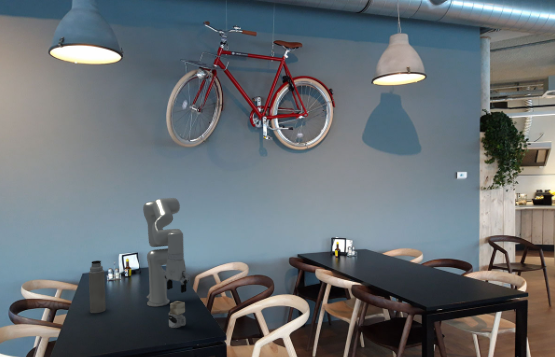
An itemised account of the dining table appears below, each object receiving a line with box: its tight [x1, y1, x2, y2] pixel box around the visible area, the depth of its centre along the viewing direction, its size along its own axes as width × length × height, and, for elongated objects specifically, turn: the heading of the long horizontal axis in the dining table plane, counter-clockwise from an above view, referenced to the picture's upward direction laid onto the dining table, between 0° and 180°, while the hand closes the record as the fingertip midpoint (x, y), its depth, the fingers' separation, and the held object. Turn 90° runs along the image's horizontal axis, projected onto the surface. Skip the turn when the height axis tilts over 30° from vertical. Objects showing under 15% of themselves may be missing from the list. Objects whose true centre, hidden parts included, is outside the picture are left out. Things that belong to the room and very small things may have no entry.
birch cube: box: [169, 300, 186, 315], centre depth 213 cm, size 5×5×5 cm
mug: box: [168, 311, 187, 329], centre depth 213 cm, size 10×7×7 cm, turn 57°
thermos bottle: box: [88, 260, 107, 314], centre depth 239 cm, size 8×8×28 cm
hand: (176, 290), depth 213 cm, fingers open, 9 cm apart
